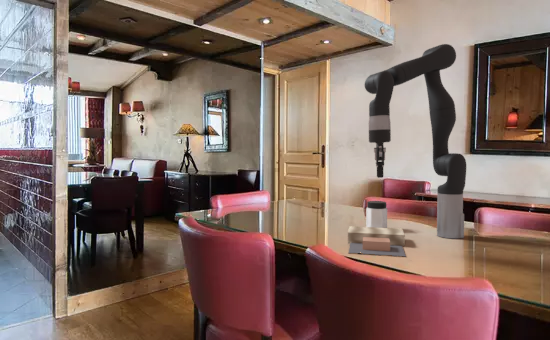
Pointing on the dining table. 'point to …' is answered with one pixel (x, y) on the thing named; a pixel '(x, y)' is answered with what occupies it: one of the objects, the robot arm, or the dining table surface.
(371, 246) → the brown rectangular block
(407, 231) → the dining table surface
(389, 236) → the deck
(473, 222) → the dining table surface
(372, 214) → the jar
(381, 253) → the mat
